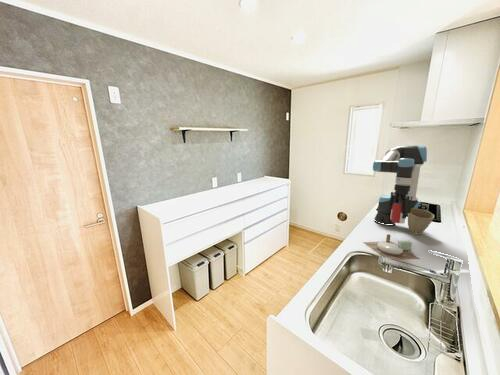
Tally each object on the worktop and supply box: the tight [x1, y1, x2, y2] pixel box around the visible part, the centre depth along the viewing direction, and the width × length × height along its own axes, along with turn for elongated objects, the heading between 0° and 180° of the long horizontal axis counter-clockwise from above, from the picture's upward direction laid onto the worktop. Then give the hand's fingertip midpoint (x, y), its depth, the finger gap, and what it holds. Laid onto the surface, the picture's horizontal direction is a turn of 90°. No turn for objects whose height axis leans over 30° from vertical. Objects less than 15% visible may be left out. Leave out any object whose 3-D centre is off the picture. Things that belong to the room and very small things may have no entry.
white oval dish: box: [377, 240, 413, 255], centre depth 124 cm, size 20×13×5 cm, turn 94°
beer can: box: [391, 202, 402, 224], centre depth 124 cm, size 7×7×12 cm
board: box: [362, 233, 421, 261], centre depth 123 cm, size 22×20×7 cm
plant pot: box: [407, 208, 435, 235], centre depth 150 cm, size 15×15×16 cm
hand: (397, 221), depth 125 cm, fingers closed on beer can, 7 cm apart
